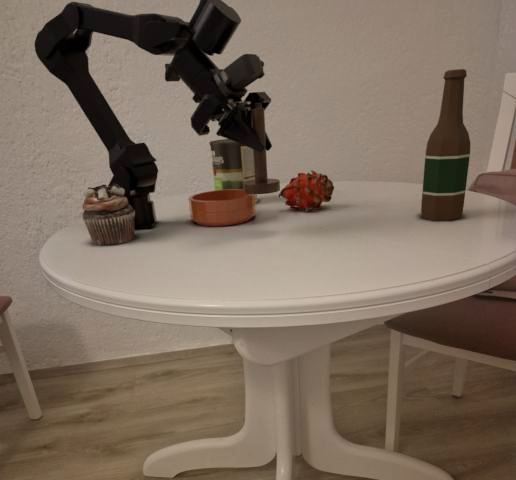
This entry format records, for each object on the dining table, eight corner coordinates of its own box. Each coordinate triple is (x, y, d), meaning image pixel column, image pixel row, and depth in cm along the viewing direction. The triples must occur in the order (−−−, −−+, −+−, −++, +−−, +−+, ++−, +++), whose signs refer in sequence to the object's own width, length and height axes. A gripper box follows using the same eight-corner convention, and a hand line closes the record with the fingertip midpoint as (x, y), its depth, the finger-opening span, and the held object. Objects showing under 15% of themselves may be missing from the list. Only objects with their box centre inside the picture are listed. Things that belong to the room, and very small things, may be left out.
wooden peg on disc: (247, 195, 81) (241, 110, 75) (240, 189, 87) (234, 109, 81) (284, 192, 82) (281, 107, 76) (274, 186, 88) (271, 107, 82)
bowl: (189, 229, 95) (185, 203, 93) (194, 215, 107) (191, 192, 105) (257, 224, 95) (256, 198, 93) (254, 210, 107) (253, 187, 105)
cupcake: (77, 245, 90) (63, 190, 85) (110, 232, 98) (100, 180, 93) (117, 247, 86) (105, 190, 82) (149, 234, 94) (140, 180, 89)
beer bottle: (455, 222, 85) (473, 67, 74) (412, 219, 90) (423, 72, 79) (468, 213, 91) (487, 67, 80) (427, 210, 95) (439, 71, 84)
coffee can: (225, 208, 111) (218, 143, 105) (210, 202, 120) (203, 141, 113) (265, 202, 115) (261, 138, 108) (247, 196, 123) (243, 137, 117)
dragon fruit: (339, 215, 104) (284, 227, 105) (331, 186, 108) (279, 198, 109) (338, 186, 96) (279, 199, 98) (329, 157, 100) (273, 170, 102)
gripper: (197, 30, 68) (271, 113, 68) (258, 39, 83) (318, 107, 83) (161, 96, 75) (228, 171, 75) (223, 93, 90) (279, 156, 90)
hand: (266, 149), depth 81 cm, fingers closed on wooden peg on disc, 2 cm apart
